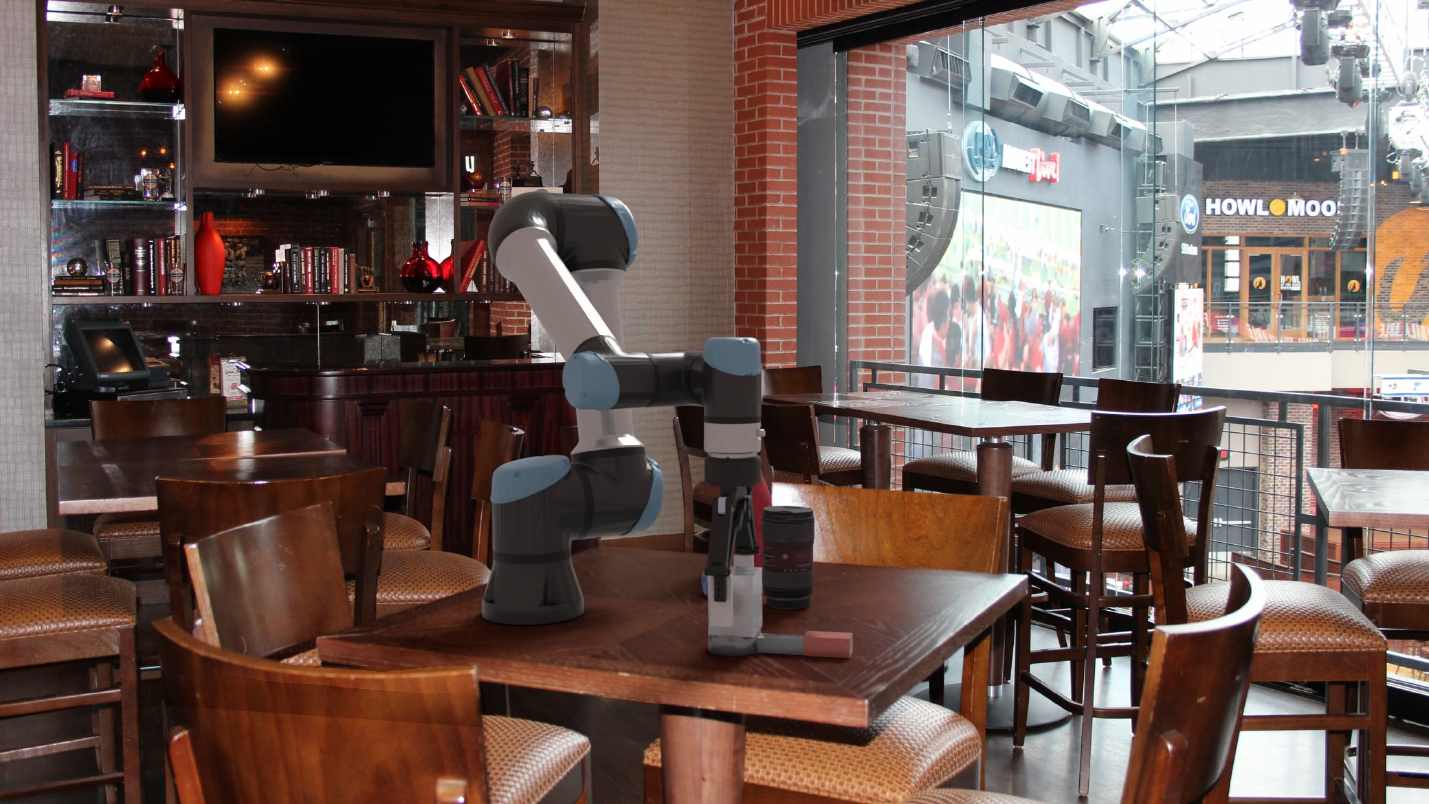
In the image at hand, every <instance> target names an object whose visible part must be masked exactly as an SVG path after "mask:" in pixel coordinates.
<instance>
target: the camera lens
mask: <svg viewBox="0 0 1429 804" xmlns="http://www.w3.org/2000/svg"><path fill="white" fill-rule="evenodd" d="M762 516H763V517H762V543H763V553H762V554H761V562H762V563H763V572H762V591H763V595H764V596H765V597H766V606H768V607H769V608H773V609H777V610H797V609H803V608H807V607H809V606H810V604H811V596H812V595H813V591H814V590H813V589H814V588H813V587H814V582H815V580H814V579H815V576H814V575H815V571H814V544H815V537H816V536H815V533H816V532H815V530H816V529H815V522H816V521H815V514H814V509H813V508H811V507H806V506H797V505H772V506H769V507H765V508H764V512H763V515H762Z"/></svg>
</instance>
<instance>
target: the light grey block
mask: <svg viewBox="0 0 1429 804" xmlns="http://www.w3.org/2000/svg"><path fill="white" fill-rule="evenodd" d="M730 575H733V626H732V627H723V626H711V576H708V596H707V602H708V603H707V606H708V607H707V609H708V611H707V612H708V614H707V616H708V619H707V620H708V623H707V625H708V630H707V631H709V635H718V636H738V637H754V636H755V635H756V634H757V632H758V631H759V630H760V629H761V630H762V627H763V582H762V567H736V566H731V574H730Z"/></svg>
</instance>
